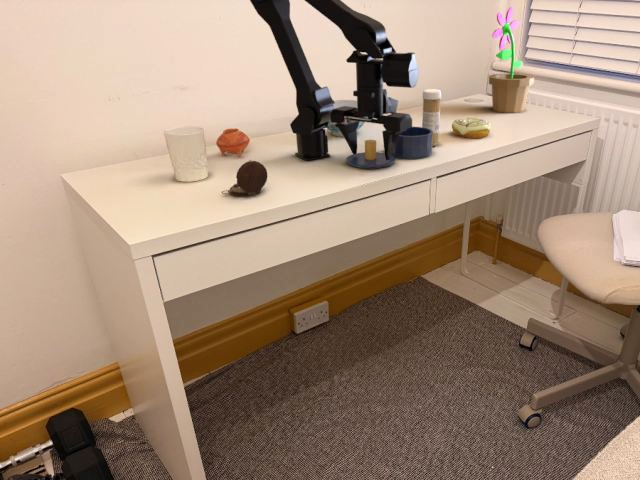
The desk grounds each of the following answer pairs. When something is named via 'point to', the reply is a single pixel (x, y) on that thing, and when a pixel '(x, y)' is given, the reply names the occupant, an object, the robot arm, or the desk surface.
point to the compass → (249, 179)
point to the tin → (414, 143)
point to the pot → (232, 141)
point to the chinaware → (342, 103)
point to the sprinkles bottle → (432, 112)
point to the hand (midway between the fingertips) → (371, 156)
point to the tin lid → (369, 157)
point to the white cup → (187, 152)
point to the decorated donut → (471, 127)
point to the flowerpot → (510, 87)
